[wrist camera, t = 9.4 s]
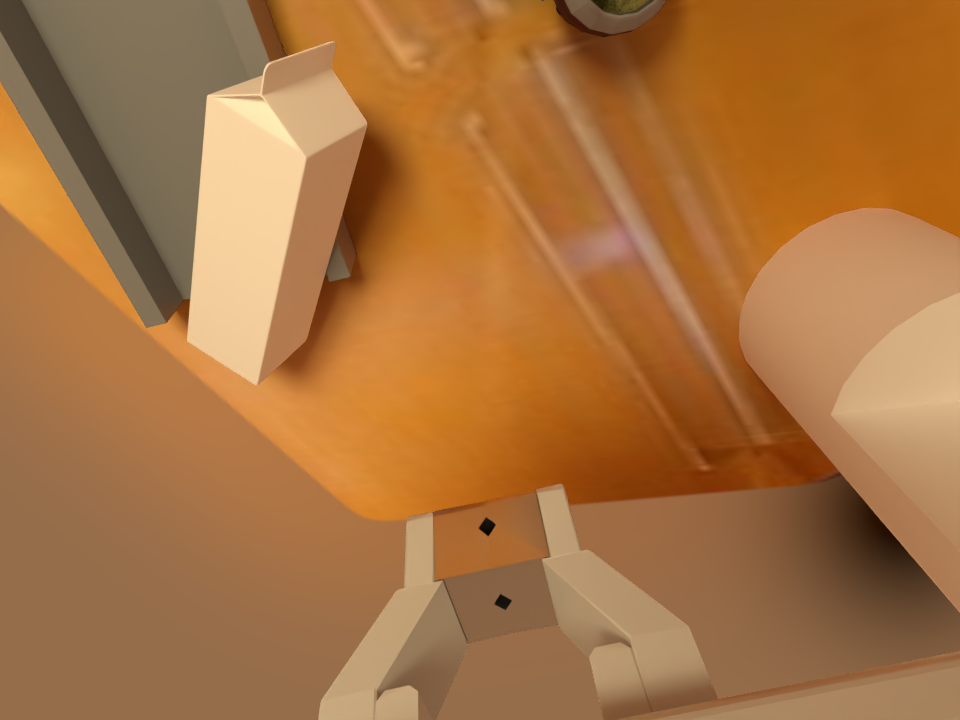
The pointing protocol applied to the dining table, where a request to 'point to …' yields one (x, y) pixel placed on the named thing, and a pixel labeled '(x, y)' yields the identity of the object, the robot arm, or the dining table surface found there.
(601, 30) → the mate gourd
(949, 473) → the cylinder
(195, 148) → the trough
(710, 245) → the dining table surface
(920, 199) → the dining table surface
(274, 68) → the milk
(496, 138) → the dining table surface
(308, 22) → the dining table surface
